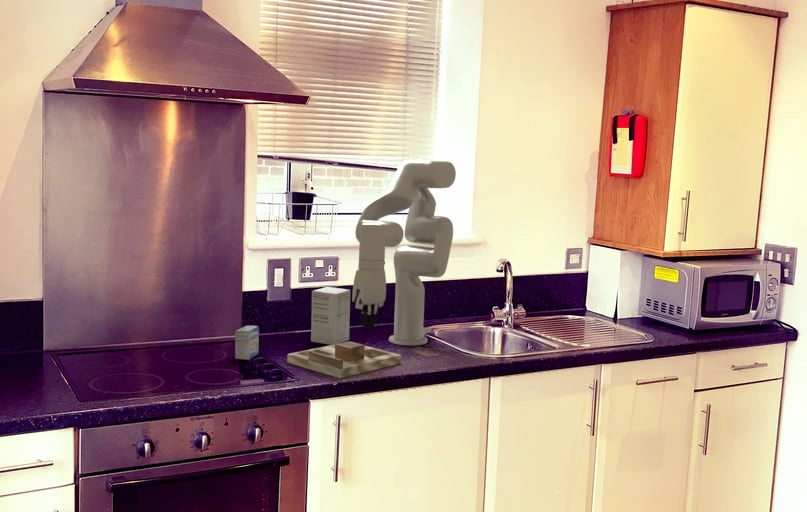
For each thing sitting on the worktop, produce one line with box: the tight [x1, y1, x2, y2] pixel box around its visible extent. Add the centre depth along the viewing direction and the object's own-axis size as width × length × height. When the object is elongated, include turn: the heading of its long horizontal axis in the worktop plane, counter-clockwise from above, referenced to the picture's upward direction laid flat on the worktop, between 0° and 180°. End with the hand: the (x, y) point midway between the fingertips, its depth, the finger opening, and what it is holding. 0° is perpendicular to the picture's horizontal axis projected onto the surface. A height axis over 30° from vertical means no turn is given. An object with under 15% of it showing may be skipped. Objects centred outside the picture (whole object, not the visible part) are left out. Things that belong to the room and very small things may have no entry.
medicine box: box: [234, 325, 260, 361], centre depth 262 cm, size 8×4×9 cm, turn 168°
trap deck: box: [286, 343, 402, 379], centre depth 259 cm, size 25×22×5 cm
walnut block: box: [335, 340, 366, 362], centre depth 255 cm, size 6×6×4 cm
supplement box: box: [310, 286, 351, 346], centre depth 285 cm, size 10×9×17 cm
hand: (368, 327), depth 259 cm, fingers closed
